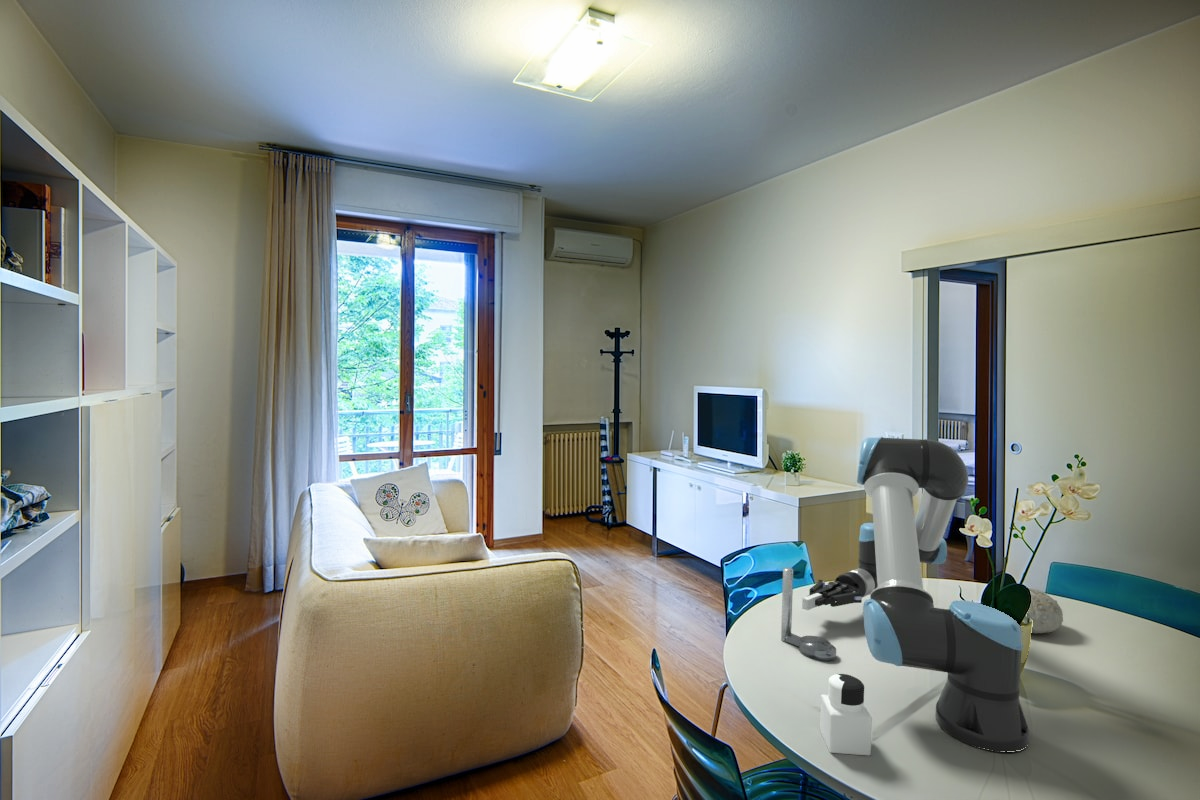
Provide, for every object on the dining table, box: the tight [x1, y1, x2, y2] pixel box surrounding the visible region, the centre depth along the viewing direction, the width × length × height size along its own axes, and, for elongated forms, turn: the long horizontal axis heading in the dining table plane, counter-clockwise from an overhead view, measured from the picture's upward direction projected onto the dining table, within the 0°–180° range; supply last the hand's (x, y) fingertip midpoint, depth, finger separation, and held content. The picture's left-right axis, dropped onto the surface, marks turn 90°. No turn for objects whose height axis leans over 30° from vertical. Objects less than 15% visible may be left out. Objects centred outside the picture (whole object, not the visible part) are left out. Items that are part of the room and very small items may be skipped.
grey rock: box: [1027, 587, 1064, 634], centre depth 163 cm, size 18×18×10 cm
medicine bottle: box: [819, 673, 873, 756], centre depth 110 cm, size 7×7×12 cm
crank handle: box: [780, 567, 837, 663], centre depth 144 cm, size 14×7×18 cm, turn 38°
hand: (805, 604), depth 153 cm, fingers closed
